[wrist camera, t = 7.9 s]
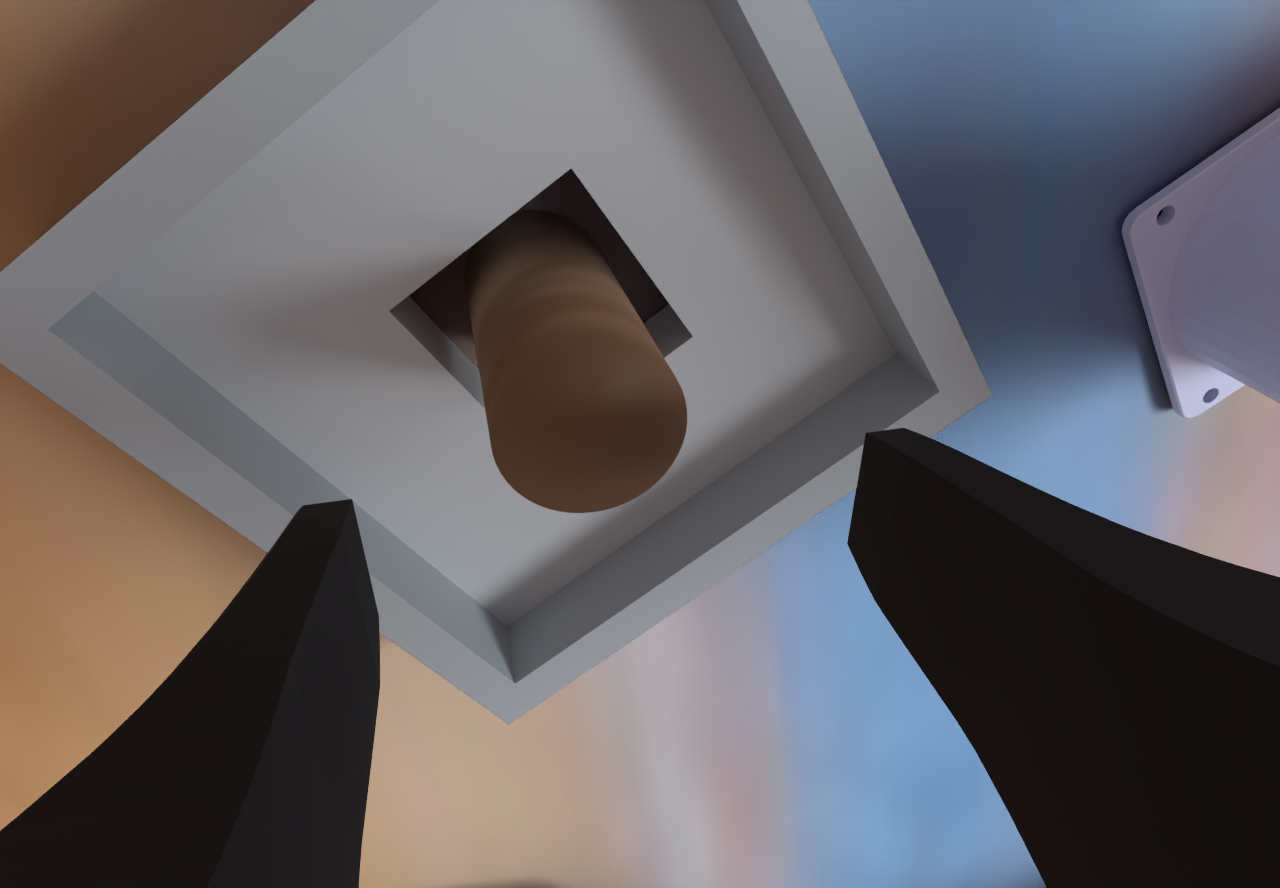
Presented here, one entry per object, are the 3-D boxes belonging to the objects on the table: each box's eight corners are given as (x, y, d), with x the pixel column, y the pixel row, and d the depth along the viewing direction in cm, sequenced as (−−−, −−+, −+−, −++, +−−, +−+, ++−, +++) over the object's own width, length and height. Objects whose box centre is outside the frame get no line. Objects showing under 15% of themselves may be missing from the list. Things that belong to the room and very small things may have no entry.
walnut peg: (557, 182, 18) (628, 300, 12) (627, 298, 20) (718, 448, 14) (435, 261, 18) (447, 412, 12) (516, 368, 20) (559, 543, 14)
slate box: (607, -248, 14) (666, -303, 11) (904, 326, 22) (992, 395, 19) (37, 243, 16) (-58, 321, 13) (494, 615, 24) (508, 724, 21)
